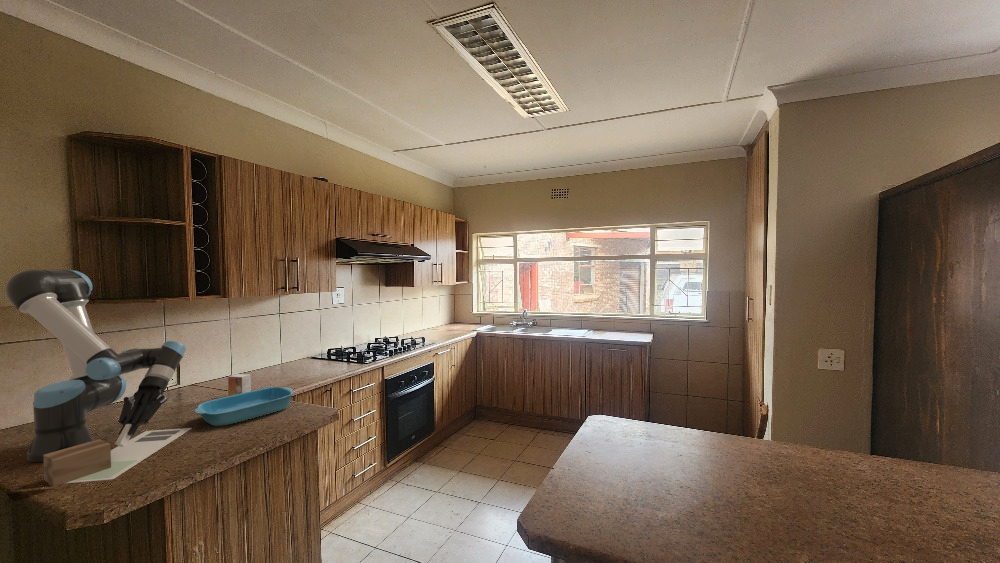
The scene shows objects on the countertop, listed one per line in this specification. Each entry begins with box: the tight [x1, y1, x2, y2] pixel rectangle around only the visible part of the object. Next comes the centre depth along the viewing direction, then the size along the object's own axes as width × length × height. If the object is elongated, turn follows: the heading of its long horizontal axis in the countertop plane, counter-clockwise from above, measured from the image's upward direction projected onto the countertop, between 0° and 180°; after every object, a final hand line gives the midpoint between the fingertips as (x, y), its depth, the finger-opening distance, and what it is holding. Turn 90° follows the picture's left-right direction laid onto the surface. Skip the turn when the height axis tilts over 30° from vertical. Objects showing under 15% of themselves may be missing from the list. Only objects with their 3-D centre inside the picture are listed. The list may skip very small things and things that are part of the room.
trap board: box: [48, 427, 193, 487], centre depth 130 cm, size 16×38×1 cm, turn 10°
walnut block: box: [43, 438, 112, 487], centre depth 116 cm, size 8×12×8 cm, turn 153°
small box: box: [227, 373, 252, 396], centre depth 191 cm, size 8×6×10 cm
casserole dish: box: [193, 386, 294, 427], centre depth 167 cm, size 37×22×7 cm, turn 142°
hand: (120, 445), depth 125 cm, fingers closed
